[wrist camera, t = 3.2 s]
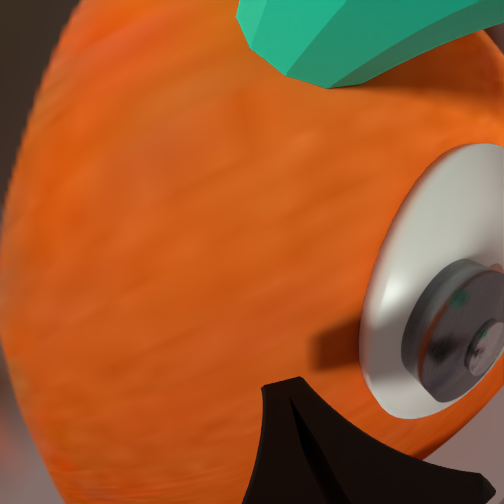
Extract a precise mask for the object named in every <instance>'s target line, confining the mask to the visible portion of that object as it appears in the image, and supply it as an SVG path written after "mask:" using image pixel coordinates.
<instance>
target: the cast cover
mask: <svg viewBox="0 0 504 504" xmlns="http://www.w3.org/2000/svg"><path fill="white" fill-rule="evenodd" d="M503 346H504V274H503V273H501V272H499V271H496V270H494V269H491V268H489V267H487V266H484V265H482V264H479V263H477V262H474V261H472V260H469V259H460V260H457V261H454V262H452V263H450V264H449V265H447V266H446V267H445V268H443V269H442V270H441V271H440V272H439V273H438V274H437V275H436V276H435V277H434V278H433V279H432V280H431V282H430V283H429V284H428V285H427V287H426V288H425V290H424V291H423V292H422V294H421V296H420V297H419V299H418V300H417V302H416V304H415V306H414V308H413V310H412V312H411V314H410V316H409V319H408V321H407V324H406V327H405V330H404V333H403V337H402V343H401V359H402V363H403V365H404V367H405V368H406V370H407V371H408V372H409V373H410V374H411V375H412V376H413V377H414V378H415V379H416V380H417V381H418V382H419V383H420V384H421V385H422V386H423V388H424V389H425V390H426V391H427V392H428V393H429V394H430V395H431V396H432V397H433V398H434V399H435V400H436V401H437V402H440V403H446V402H450V401H453V400H455V399H457V398H459V397H460V396H462V395H463V394H465V393H466V392H467V391H469V390H470V389H471V388H472V387H473V386H474V385H475V384H476V383H477V382H478V381H479V380H480V379H481V378H482V377H483V376H484V375H485V373H486V372H487V371H488V370H489V368H490V367H491V366H492V364H493V363H494V361H495V360H496V358H497V356H498V355H499V353H500V351H501V349H502V348H503Z"/></svg>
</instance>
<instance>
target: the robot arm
mask: <svg viewBox="0 0 504 504" xmlns="http://www.w3.org/2000/svg"><path fill="white" fill-rule="evenodd" d="M261 391H262V397H263V417H262V427H261V435H260V441H259V447H258V452H257V456H256V461H255V465H254V469H253V472H252V476H251V479H250V482H249V485H248V488H247V491H246V494H245V496H244V499H243V501H242V504H486V503H487V502H488V501H489V500H490V499H491V498H492V497H493V496H494V495H495V493H496V490H495V489H494V487H493V486H492V485H491V483H490V482H489V481H488V480H487V479H486V478H485V477H483V476H482V475H481V474H480V473H474V472H466V471H459V470H455V469H450V468H445V467H442V466H438V465H434V464H430V463H428V462H425V461H422V460H419V459H417V458H414V457H411V456H409V455H406V454H404V453H401V452H399V451H397V450H395V449H393V448H391V447H389V446H387V445H385V444H383V443H381V442H380V441H378V440H376V439H374V438H373V437H371V436H369V435H368V434H366V433H365V432H363V431H362V430H360V429H359V428H357V427H356V426H355V425H353V424H352V423H350V422H349V421H348V420H346V419H345V418H344V417H343V416H341V415H340V414H339V413H338V412H337V411H335V410H334V409H333V408H332V407H331V406H330V405H328V404H327V403H326V402H325V401H324V400H323V399H322V398H321V397H320V396H319V395H318V394H317V393H316V392H315V391H314V390H313V389H312V388H311V387H310V386H309V385H308V383H307V382H306V381H305V380H304V379H303V378H302V377H300V376H299V377H295V378H291V379H288V380H284V381H280V382H275V383H271V384H267V385H264V386H263V387H262V388H261ZM498 504H504V499H503V500H501V502H499V503H498Z"/></svg>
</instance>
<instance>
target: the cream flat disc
mask: <svg viewBox="0 0 504 504" xmlns="http://www.w3.org/2000/svg"><path fill="white" fill-rule="evenodd" d="M460 259H469V260H472V261H474V262H477V263H479V264H482V265H484V266H487V267H489V268H491V269H494V270H496V271H499V272H501V273H503V274H504V148H503V147H501V146H499V145H495V144H463V145H460V146H457V147H454V148H452V149H450V150H448V151H447V152H445V153H443V154H442V155H440V156H439V157H438V158H437V159H436V160H435V161H434V162H432V163H431V164H430V165H429V166H428V167H427V168H426V170H425V171H424V172H423V173H422V174H421V176H420V177H419V178H418V179H417V180H416V182H415V183H414V185H413V186H412V188H411V189H410V191H409V192H408V194H407V195H406V197H405V198H404V200H403V202H402V204H401V205H400V207H399V209H398V211H397V213H396V215H395V217H394V218H393V220H392V222H391V225H390V227H389V229H388V231H387V234H386V236H385V238H384V241H383V243H382V245H381V247H380V250H379V253H378V256H377V259H376V262H375V265H374V267H373V270H372V273H371V277H370V280H369V284H368V288H367V291H366V295H365V299H364V305H363V310H362V315H361V320H360V331H359V361H360V367H361V372H362V375H363V378H364V380H365V383H366V385H367V387H368V388H369V390H370V391H371V393H372V394H373V396H374V397H375V398H376V400H377V401H378V402H379V404H380V405H381V407H382V408H383V409H384V410H385V411H387V412H388V413H389V414H391V415H393V416H395V417H398V418H404V419H417V418H421V417H426V416H429V415H432V414H434V413H437V412H439V411H441V410H443V409H445V408H447V407H448V406H450V405H452V404H453V403H455V402H456V401H458V400H459V399H460V398H462V397H463V396H464V395H466V394H467V393H468V392H469V391H470V390H471V389H473V388H474V387H475V386H476V385H477V384H478V383H479V382H480V381H481V380H482V379H483V378H484V377H485V375H486V374H487V373H488V372H489V371H490V370H491V368H492V367H493V366H494V365H495V363H496V362H497V361H498V359H499V358H500V356H501V355H502V354H503V352H504V346H503V348H502V349H501V351H500V353H499V355H498V356H497V358H496V360H495V361H494V363H493V364H492V366H491V367H490V368H489V370H488V371H487V372H486V373H485V375H484V376H483V377H482V378H481V379H480V380H479V381H478V382H477V383H476V384H475V385H474V386H473V387H472V388H471V389H470V390H469V391H467V392H466V393H465V394H463V395H462V396H460V397H459V398H457V399H455V400H453V401H450V402H446V403H440V402H437V401H436V400H435V399H434V398H433V397H432V396H431V395H430V394H429V393H428V392H427V391H426V390H425V389H424V388H423V386H422V385H421V384H420V383H419V382H418V381H417V380H416V379H415V378H414V377H413V376H412V375H411V374H410V373H409V372H408V371H407V370H406V368H405V367H404V365H403V363H402V359H401V343H402V337H403V333H404V330H405V327H406V324H407V321H408V319H409V316H410V314H411V312H412V310H413V308H414V306H415V304H416V302H417V300H418V299H419V297H420V296H421V294H422V292H423V291H424V290H425V288H426V287H427V285H428V284H429V283H430V282H431V280H432V279H433V278H434V277H435V276H436V275H437V274H438V273H439V272H440V271H441V270H442V269H443V268H445V267H446V266H447V265H449V264H450V263H452V262H454V261H457V260H460Z"/></svg>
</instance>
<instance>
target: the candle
mask: <svg viewBox="0 0 504 504" xmlns="http://www.w3.org/2000/svg"><path fill="white" fill-rule="evenodd" d="M236 18H237V20H238V22H239V24H240V27H241V29H242V31H243V33H244V36H245V38H246V40H247V42H248V45H249V47H250V49H251V50H253V51H254V52H256V53H257V54H258V55H259V56H261V57H262V58H263V59H265V60H266V61H267V62H269V63H270V64H271V65H272V66H274V67H275V68H276V69H277V70H278V71H280V72H281V73H282V74H283V75H285V76H288V77H291V78H295V79H298V80H302V81H305V82H308V83H311V84H314V85H317V86H320V87H323V88H326V89H329V88H335V87H342V86H350V85H358V84H363V83H365V82H367V81H369V80H370V79H372V78H374V77H376V76H378V75H380V74H382V73H384V72H386V71H388V70H389V69H391V68H393V67H395V66H397V65H399V64H402V63H404V62H406V61H408V60H410V59H412V58H414V57H416V56H418V55H421V54H423V53H425V52H427V51H429V50H432V49H434V48H436V47H439V46H441V45H443V44H446V43H448V42H451V41H453V40H456V39H458V38H461V37H463V36H466V35H469V34H471V33H474V32H477V31H480V30H483V29H485V28H488V27H492V26H495V25H498V24H501V23H504V0H240V1H239V5H238V10H237V15H236Z"/></svg>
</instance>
